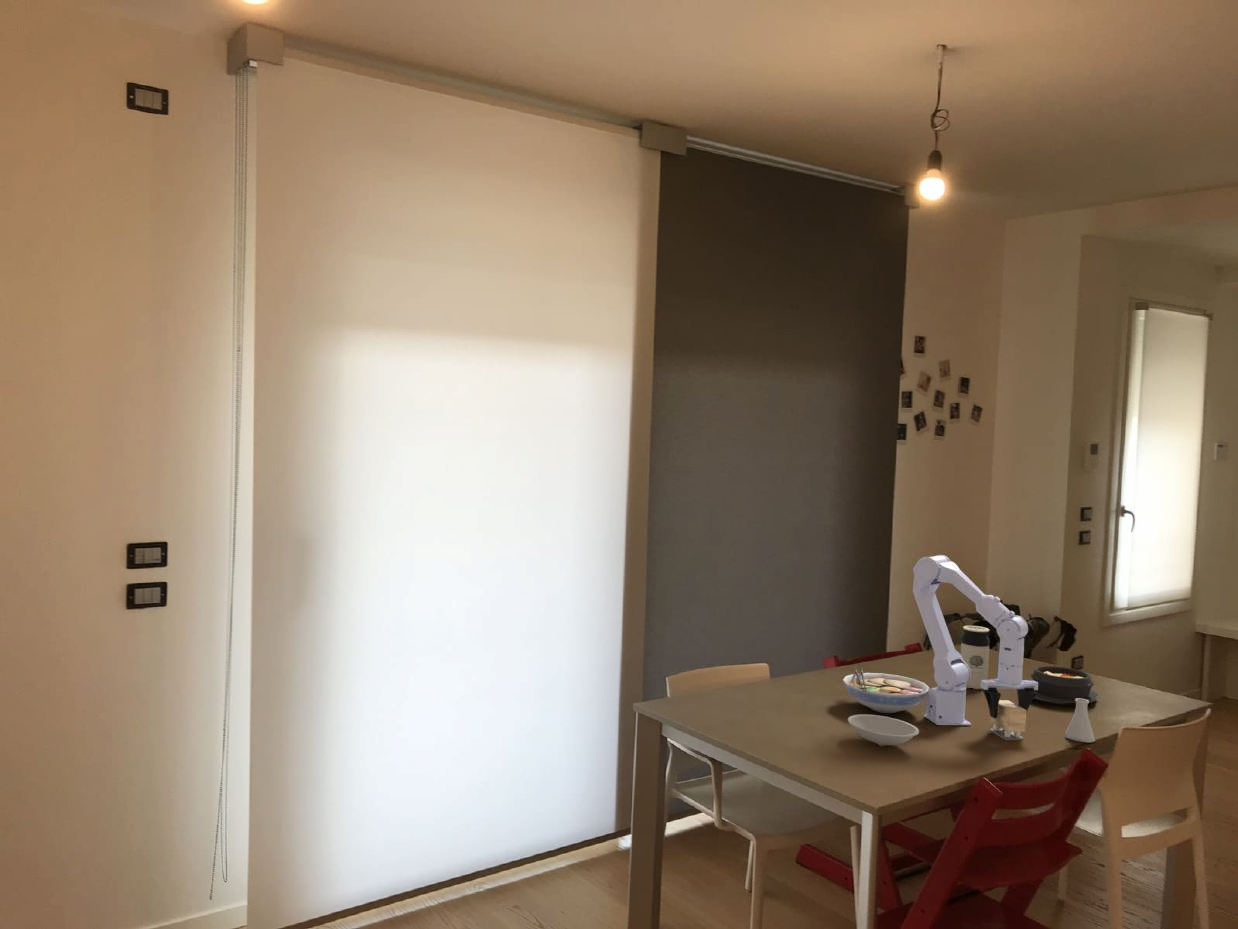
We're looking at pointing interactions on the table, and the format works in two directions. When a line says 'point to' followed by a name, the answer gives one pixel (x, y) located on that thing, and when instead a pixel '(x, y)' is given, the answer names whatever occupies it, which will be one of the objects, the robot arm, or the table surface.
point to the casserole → (1062, 685)
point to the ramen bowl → (885, 691)
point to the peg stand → (1006, 733)
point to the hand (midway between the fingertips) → (1007, 717)
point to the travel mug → (975, 654)
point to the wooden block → (1010, 716)
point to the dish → (883, 729)
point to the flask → (1080, 724)
